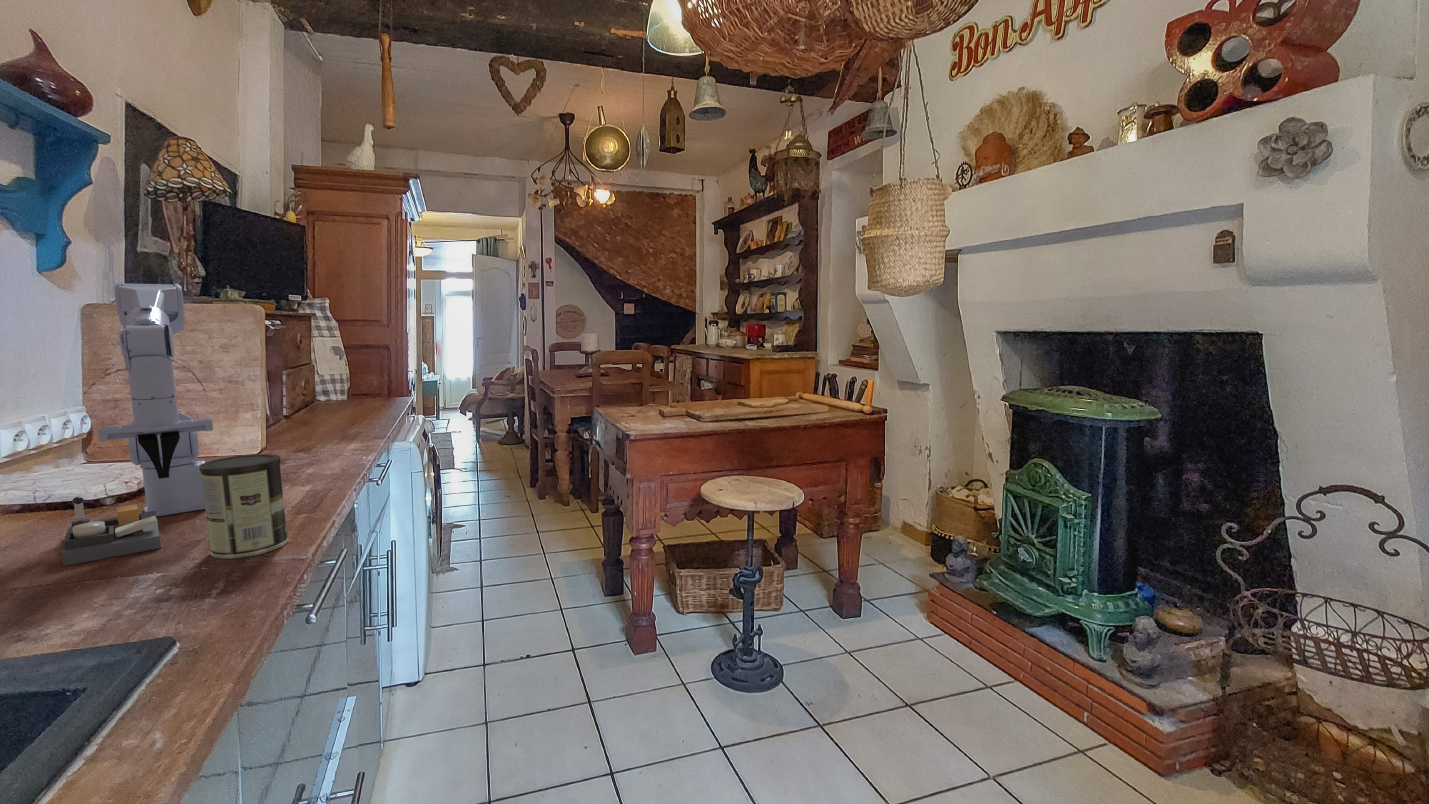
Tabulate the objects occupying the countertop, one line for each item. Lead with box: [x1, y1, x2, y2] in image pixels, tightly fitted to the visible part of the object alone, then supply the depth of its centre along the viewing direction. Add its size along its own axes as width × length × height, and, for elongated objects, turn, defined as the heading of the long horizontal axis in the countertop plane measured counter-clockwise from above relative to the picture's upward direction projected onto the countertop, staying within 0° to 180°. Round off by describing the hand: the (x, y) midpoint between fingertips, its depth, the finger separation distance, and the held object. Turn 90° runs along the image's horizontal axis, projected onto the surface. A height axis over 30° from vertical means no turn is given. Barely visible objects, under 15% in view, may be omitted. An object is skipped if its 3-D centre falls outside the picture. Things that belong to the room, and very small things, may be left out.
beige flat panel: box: [115, 516, 158, 537], centre depth 104 cm, size 5×3×1 cm, turn 131°
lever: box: [72, 496, 85, 520], centre depth 108 cm, size 1×1×4 cm
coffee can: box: [199, 453, 289, 560], centre depth 103 cm, size 10×10×14 cm
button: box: [72, 521, 106, 538], centre depth 100 cm, size 4×4×2 cm
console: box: [61, 511, 162, 567], centre depth 106 cm, size 11×18×3 cm, turn 42°
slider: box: [116, 503, 139, 526], centre depth 108 cm, size 2×4×3 cm, turn 42°
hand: (163, 477), depth 110 cm, fingers closed
